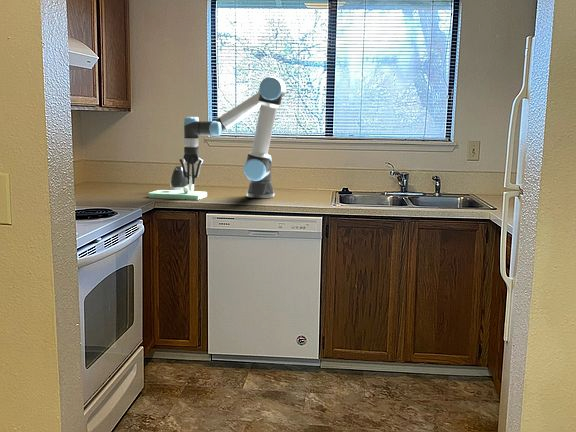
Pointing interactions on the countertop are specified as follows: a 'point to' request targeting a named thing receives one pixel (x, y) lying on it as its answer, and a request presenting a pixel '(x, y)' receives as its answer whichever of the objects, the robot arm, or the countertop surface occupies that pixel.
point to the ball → (186, 189)
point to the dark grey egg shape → (178, 179)
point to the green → (177, 194)
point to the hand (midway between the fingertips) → (191, 190)
